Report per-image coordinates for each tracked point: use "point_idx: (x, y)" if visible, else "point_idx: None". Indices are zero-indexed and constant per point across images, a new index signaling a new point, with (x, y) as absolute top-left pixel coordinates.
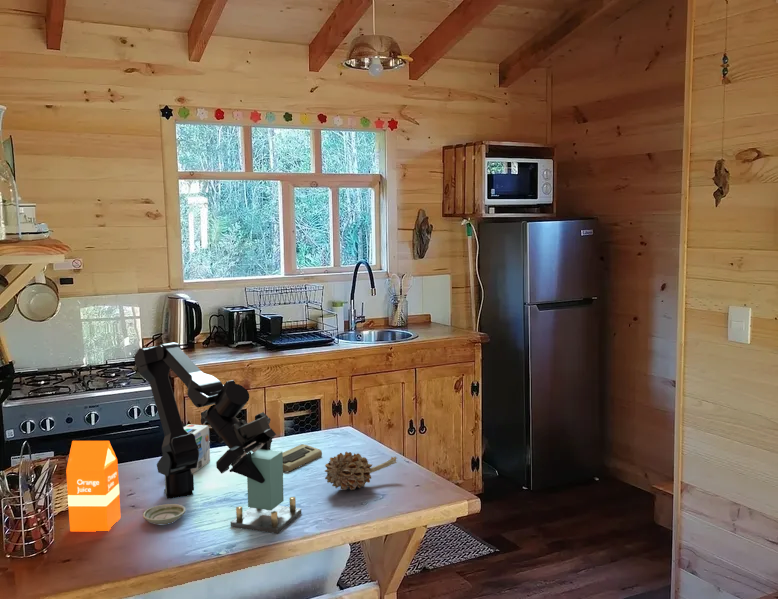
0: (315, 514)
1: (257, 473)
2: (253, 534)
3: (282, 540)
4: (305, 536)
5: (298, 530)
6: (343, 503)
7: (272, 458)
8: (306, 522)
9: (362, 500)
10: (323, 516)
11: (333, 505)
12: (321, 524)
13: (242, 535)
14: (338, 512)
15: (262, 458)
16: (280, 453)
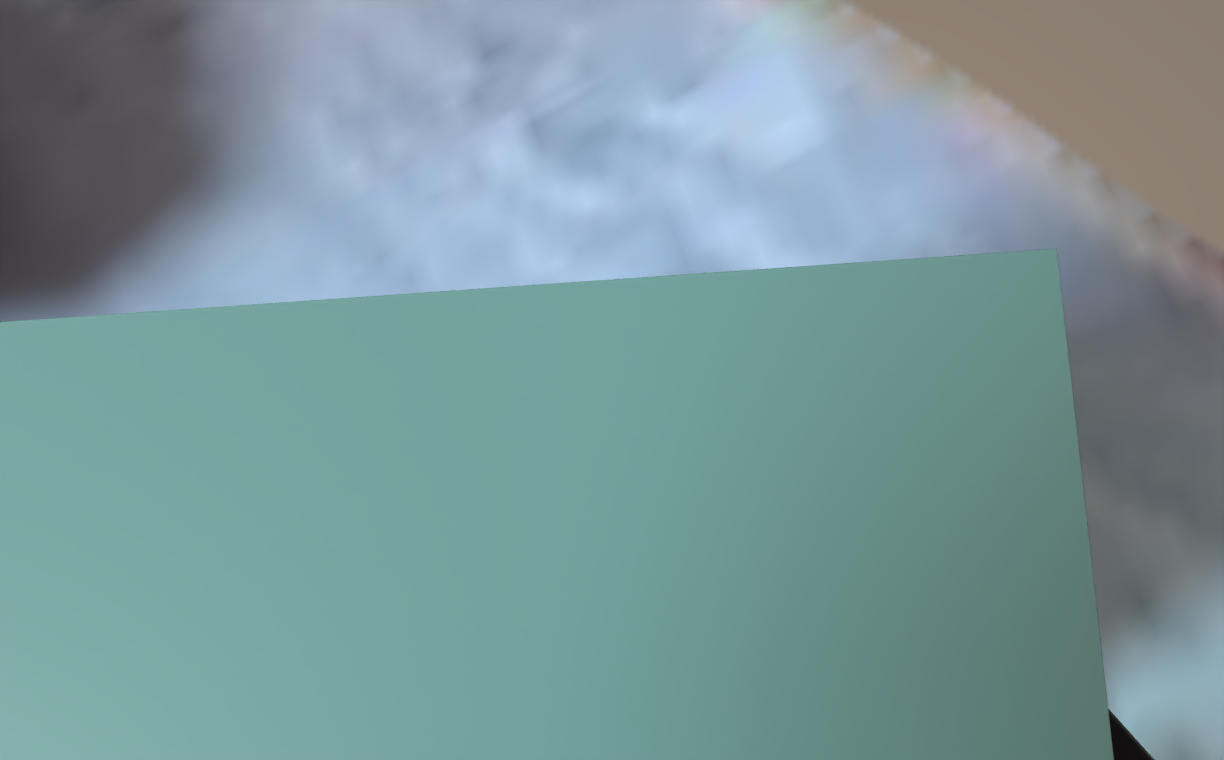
0: (433, 239)
1: (1134, 743)
2: (1117, 591)
3: (1110, 220)
4: (926, 69)
5: (827, 198)
6: (143, 132)
7: (795, 272)
8: (629, 224)
9: (52, 20)
10: (453, 149)
11: (203, 191)
12: (623, 75)
13: (1201, 703)
14: (335, 73)
15: (1065, 696)
16: (121, 322)
